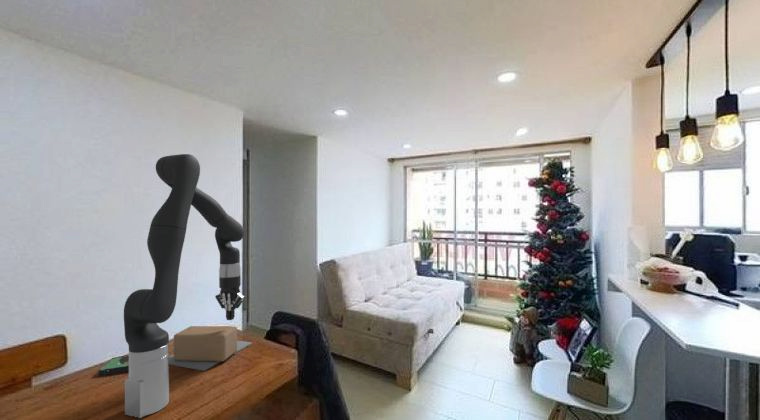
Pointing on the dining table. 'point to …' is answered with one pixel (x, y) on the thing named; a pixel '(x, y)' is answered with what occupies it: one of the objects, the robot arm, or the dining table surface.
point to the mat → (204, 364)
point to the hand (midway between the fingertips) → (230, 319)
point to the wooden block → (205, 343)
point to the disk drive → (115, 366)
